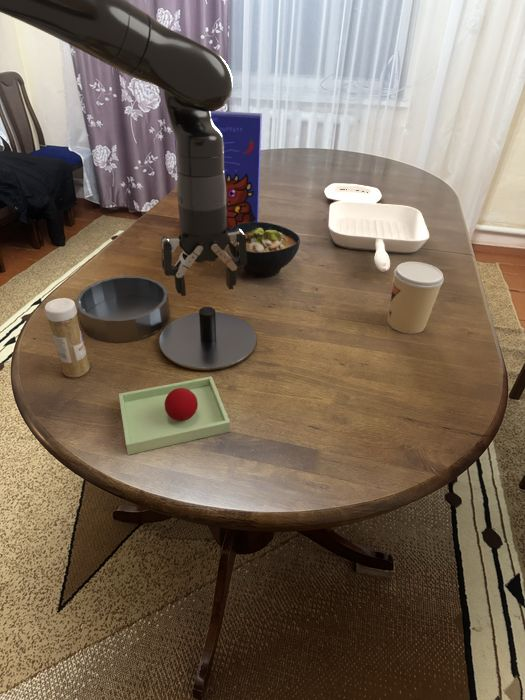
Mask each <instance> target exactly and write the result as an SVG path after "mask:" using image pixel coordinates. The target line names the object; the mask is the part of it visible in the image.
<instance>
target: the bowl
mask: <svg viewBox="0 0 525 700" xmlns="http://www.w3.org/2000/svg"><path fill="white" fill-rule="evenodd" d="M236 229H241V230H242V232H243V233H244V234H245V236H246V252H247V265H246V266H242V267H243V268H244V270H245V272H246V273H247V274H249V275H251V276H252V277H257V278H271V277H274V276H276V275H277V274H279V273H280V271H281V269H283V268H284V267H286V266H287V265H288V264H289V263H290V262H292V260H294V258H295V256H296V255H297V252H298V250H299V248H300V244H301V237H300V236H299V234H297V233H296V232H294V231H293V230H291V229H289V228H288V227H284V226H281V225H279V224H275V223H271V222H270V223H269V222H264V221H263V222H262V221H258V222H247V223H242V224H239V225H236V226H234V227H232V228H231V229H230V230H229V231H227V233H231V232H235V230H236ZM227 246H228V248H229V251H230V253H231V255H232V257H233V258H236V245H234V244H233V242H232V240H230V241H229V243H228V244H227Z"/></svg>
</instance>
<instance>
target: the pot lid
mask: <svg viewBox="0 0 525 700" xmlns="http://www.w3.org/2000/svg"><path fill="white" fill-rule="evenodd" d="M158 343H159V344H158V345H159V349H160V351H161V353H162V354H163V356H164V357H165V358H166V359H168V360H169V361H170V362H171V363H174V364H175V365H178V366H180V367H183V368H186V369H190V370H198V371H215V370H222V369H226V368H230V367H233V366H235V365H237V364H240V363H241V362H243V361H244V360H246V359H247V358H249V357H250V355H252V353H253V352H254V350H255V348H256V346H257V333H256V331H255V329H254V328H253V327H252V325H250V324H249V322H247V321H246V320H244V319H242V318H241V317H239V316H235V315H232V314H229V313H226V312H217V311H216V309H215V308H214V307H212V306H203V307H201V308H199V309H198V312H196V313H190V314H186V315H183V316H181V317H179V318H177V319H174V320H173V321H171V322H170V323H169V324H168V325H165V326H164V328H163V329H162V330H161V332H160V335H159V339H158Z"/></svg>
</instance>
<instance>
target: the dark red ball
mask: <svg viewBox="0 0 525 700" xmlns="http://www.w3.org/2000/svg"><path fill="white" fill-rule="evenodd" d="M164 405H165V410H166V413H167V414H168V416H169V417H171V418H172V419H174V420H177V421H185V420H188V419H190V418H191V417H192V416H193V415H194V414H195V412H196V410H197V407H198V402H197V398H196V396H195V394H194V393H193V392H192V391H190V390H188V389H186V388H177V389H174V390H173V391H171V392H170V393H169V394H168V395H167V397H166V399H165V404H164Z"/></svg>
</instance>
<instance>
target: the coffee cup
mask: <svg viewBox="0 0 525 700" xmlns="http://www.w3.org/2000/svg"><path fill="white" fill-rule="evenodd" d="M444 279H445V278H444V275H443V272H442V271H441V270H440V269H439V268H438V267H436V266H434V265H431V264H429V263H425V262H420V261H405V262H402V263H399V264H398V265H397V266H396V268H395V269H394V271H393V281H392V285H391V292H390V300H389V306H388V313H387V324H388V325H389V326H390V328H392V329H393V330H395V331H397V332H400V333H402V334H403V333H404V334H409V335H410V334H411V335H412V334H419V333H421V332H424V330H425V328H426V326H427V324H428V321H429V318H430V316H431V313H432V311H433V308H434V305H435V303H436V300H437V297H438V295H439V292H440V289H441V286H442V285H443V283H444Z"/></svg>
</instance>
